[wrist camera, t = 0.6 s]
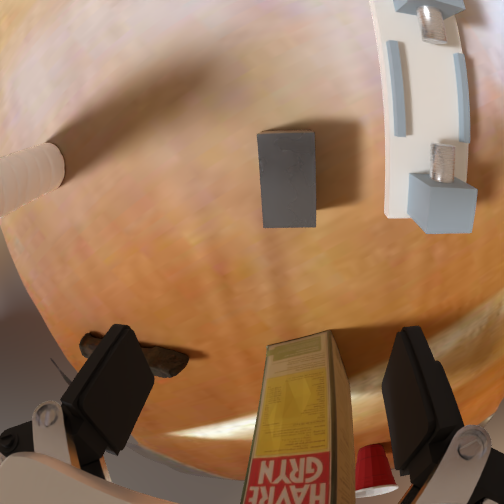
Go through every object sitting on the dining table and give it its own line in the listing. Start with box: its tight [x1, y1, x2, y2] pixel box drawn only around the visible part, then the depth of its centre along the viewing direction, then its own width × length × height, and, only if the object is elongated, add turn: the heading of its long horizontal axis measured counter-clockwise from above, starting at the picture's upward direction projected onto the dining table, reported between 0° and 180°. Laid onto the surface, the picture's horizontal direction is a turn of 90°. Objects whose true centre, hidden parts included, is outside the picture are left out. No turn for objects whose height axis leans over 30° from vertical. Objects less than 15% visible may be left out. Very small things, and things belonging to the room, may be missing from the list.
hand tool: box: [79, 333, 189, 378], centre depth 40 cm, size 19×4×5 cm, turn 91°
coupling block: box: [257, 130, 316, 228], centre depth 25 cm, size 8×4×4 cm, turn 5°
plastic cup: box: [355, 444, 398, 498], centre depth 45 cm, size 11×11×12 cm
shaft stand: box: [369, 0, 478, 234], centre depth 18 cm, size 25×9×6 cm, turn 7°
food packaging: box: [240, 330, 355, 504], centre depth 27 cm, size 13×9×25 cm
